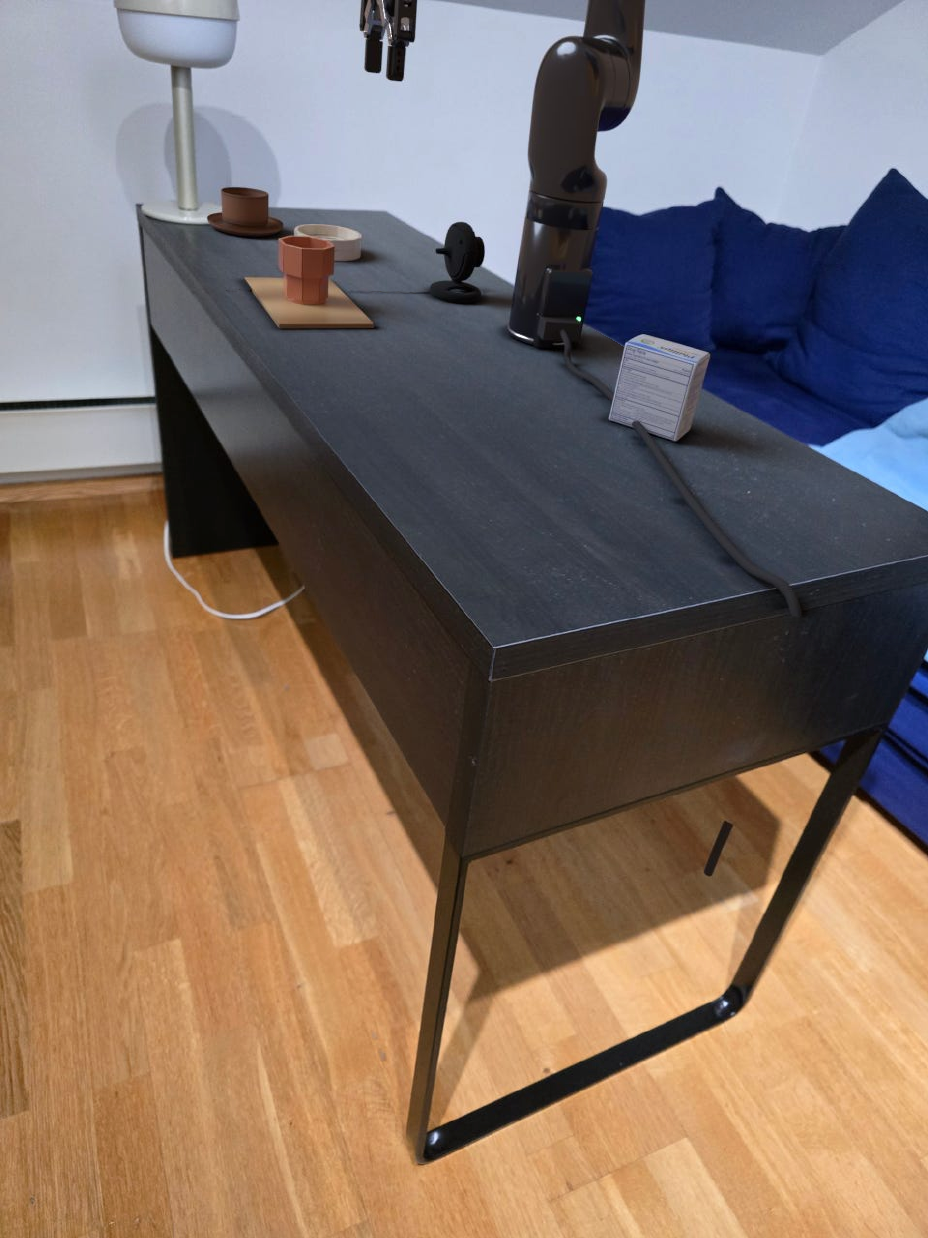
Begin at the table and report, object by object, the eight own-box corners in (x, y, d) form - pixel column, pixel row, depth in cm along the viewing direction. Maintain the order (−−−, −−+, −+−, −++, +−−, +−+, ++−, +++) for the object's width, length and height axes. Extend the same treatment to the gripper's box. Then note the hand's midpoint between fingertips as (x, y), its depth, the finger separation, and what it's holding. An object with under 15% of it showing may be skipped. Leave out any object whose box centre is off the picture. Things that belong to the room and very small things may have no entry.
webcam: (489, 304, 126) (499, 229, 120) (442, 304, 123) (450, 228, 117) (467, 288, 132) (475, 216, 126) (421, 288, 129) (427, 214, 123)
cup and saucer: (198, 223, 145) (197, 182, 141) (270, 224, 150) (269, 185, 147) (219, 241, 136) (217, 198, 133) (293, 242, 142) (293, 201, 138)
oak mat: (373, 328, 111) (374, 323, 110) (279, 328, 106) (279, 323, 106) (329, 282, 125) (329, 278, 125) (244, 281, 121) (244, 276, 120)
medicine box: (690, 432, 94) (712, 352, 90) (675, 444, 91) (698, 362, 86) (623, 410, 97) (641, 332, 93) (606, 420, 94) (625, 340, 89)
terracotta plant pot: (337, 306, 114) (339, 249, 110) (286, 306, 112) (287, 248, 108) (323, 291, 119) (325, 236, 115) (274, 291, 116) (274, 234, 112)
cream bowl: (368, 265, 136) (370, 241, 134) (304, 263, 132) (304, 238, 130) (349, 248, 143) (350, 225, 141) (287, 246, 139) (287, 222, 137)
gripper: (345, -84, 111) (339, 67, 120) (384, -85, 101) (374, 80, 110) (400, -73, 114) (391, 73, 123) (443, -73, 104) (429, 86, 113)
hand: (383, 76), depth 116 cm, fingers open, 8 cm apart
